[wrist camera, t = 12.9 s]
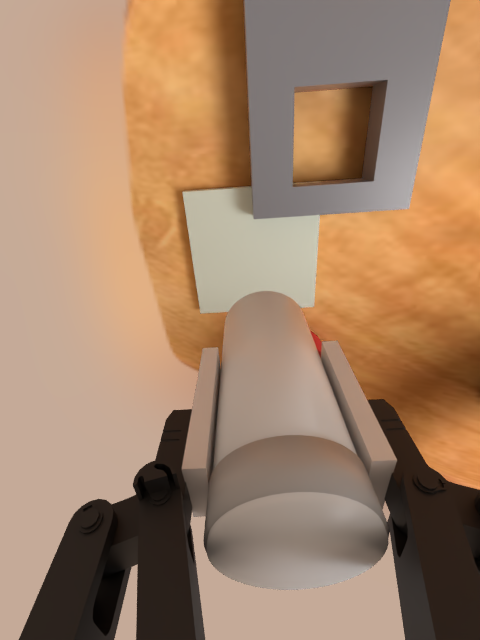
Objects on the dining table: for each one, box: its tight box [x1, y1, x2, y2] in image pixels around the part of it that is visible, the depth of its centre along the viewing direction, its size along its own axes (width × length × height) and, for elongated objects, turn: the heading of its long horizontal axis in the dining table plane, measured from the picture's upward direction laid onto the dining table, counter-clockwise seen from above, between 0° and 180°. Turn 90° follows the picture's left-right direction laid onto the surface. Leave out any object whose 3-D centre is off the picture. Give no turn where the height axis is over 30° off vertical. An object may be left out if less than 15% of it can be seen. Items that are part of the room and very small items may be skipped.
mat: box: [182, 181, 320, 314], centre depth 32 cm, size 13×13×1 cm
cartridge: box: [204, 291, 389, 590], centre depth 14 cm, size 5×5×12 cm
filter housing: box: [243, 0, 451, 219], centre depth 24 cm, size 22×14×3 cm, turn 4°
